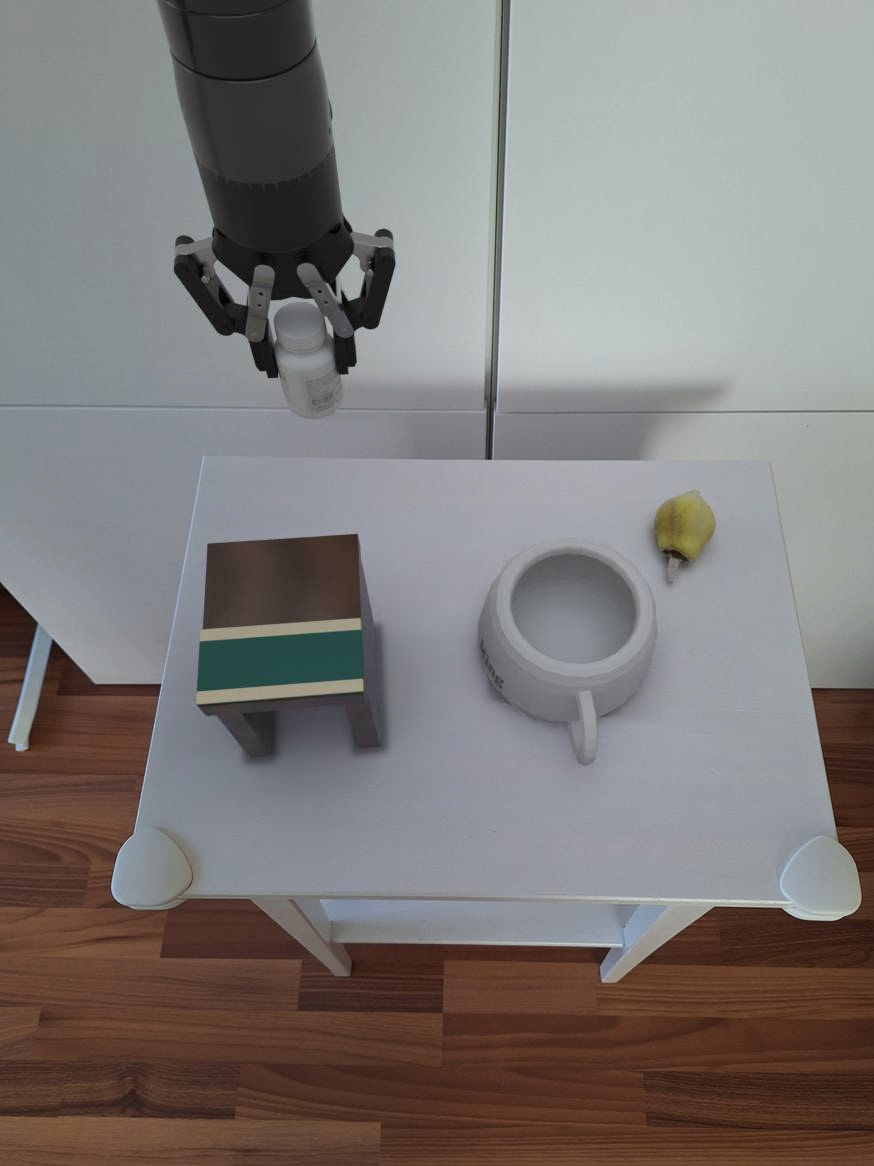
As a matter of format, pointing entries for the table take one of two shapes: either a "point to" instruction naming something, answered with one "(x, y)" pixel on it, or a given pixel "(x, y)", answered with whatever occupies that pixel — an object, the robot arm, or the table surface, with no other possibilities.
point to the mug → (568, 634)
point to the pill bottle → (307, 361)
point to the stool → (292, 619)
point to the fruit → (683, 528)
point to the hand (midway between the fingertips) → (308, 366)
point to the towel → (280, 662)
